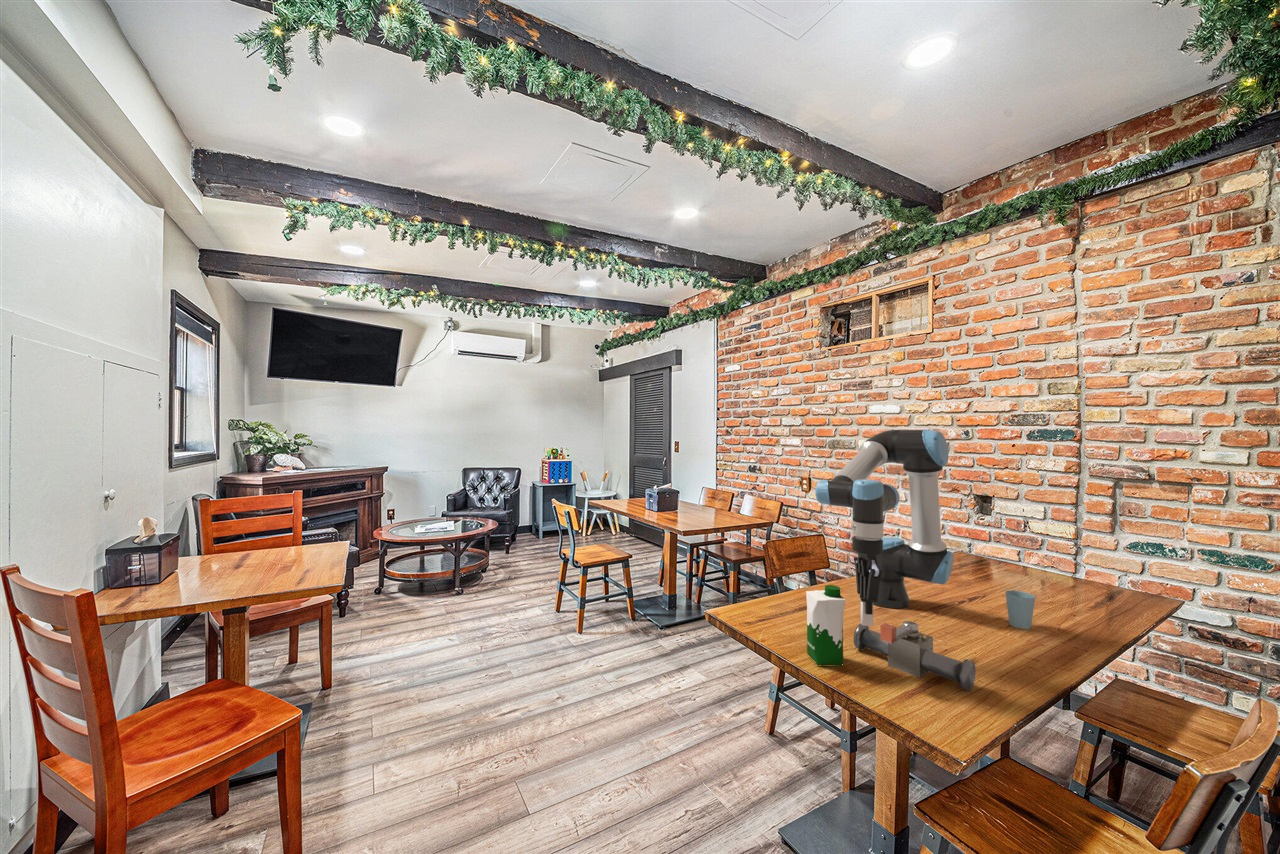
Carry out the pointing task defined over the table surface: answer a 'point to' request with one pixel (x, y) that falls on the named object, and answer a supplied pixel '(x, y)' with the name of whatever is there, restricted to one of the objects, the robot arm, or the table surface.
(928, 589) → the table surface
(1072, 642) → the table surface
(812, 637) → the milk carton
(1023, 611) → the cup
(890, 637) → the lever
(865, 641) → the valve body
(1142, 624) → the table surface
